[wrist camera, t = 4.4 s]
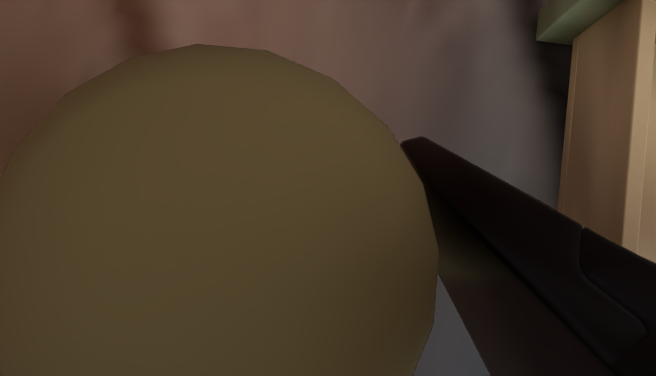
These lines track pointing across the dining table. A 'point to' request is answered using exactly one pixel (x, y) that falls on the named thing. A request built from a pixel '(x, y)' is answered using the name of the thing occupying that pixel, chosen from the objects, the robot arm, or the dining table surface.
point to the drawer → (609, 117)
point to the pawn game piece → (213, 228)
